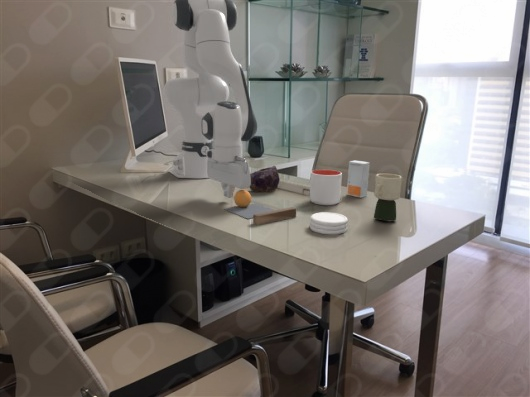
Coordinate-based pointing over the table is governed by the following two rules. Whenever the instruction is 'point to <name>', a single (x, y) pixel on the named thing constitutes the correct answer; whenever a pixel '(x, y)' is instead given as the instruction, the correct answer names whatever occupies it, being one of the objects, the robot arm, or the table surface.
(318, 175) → the cup
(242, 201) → the ball
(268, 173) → the rock
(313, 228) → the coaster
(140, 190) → the table surface
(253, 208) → the grey mark
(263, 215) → the walnut bar
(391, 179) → the character mug
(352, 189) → the skincare box
